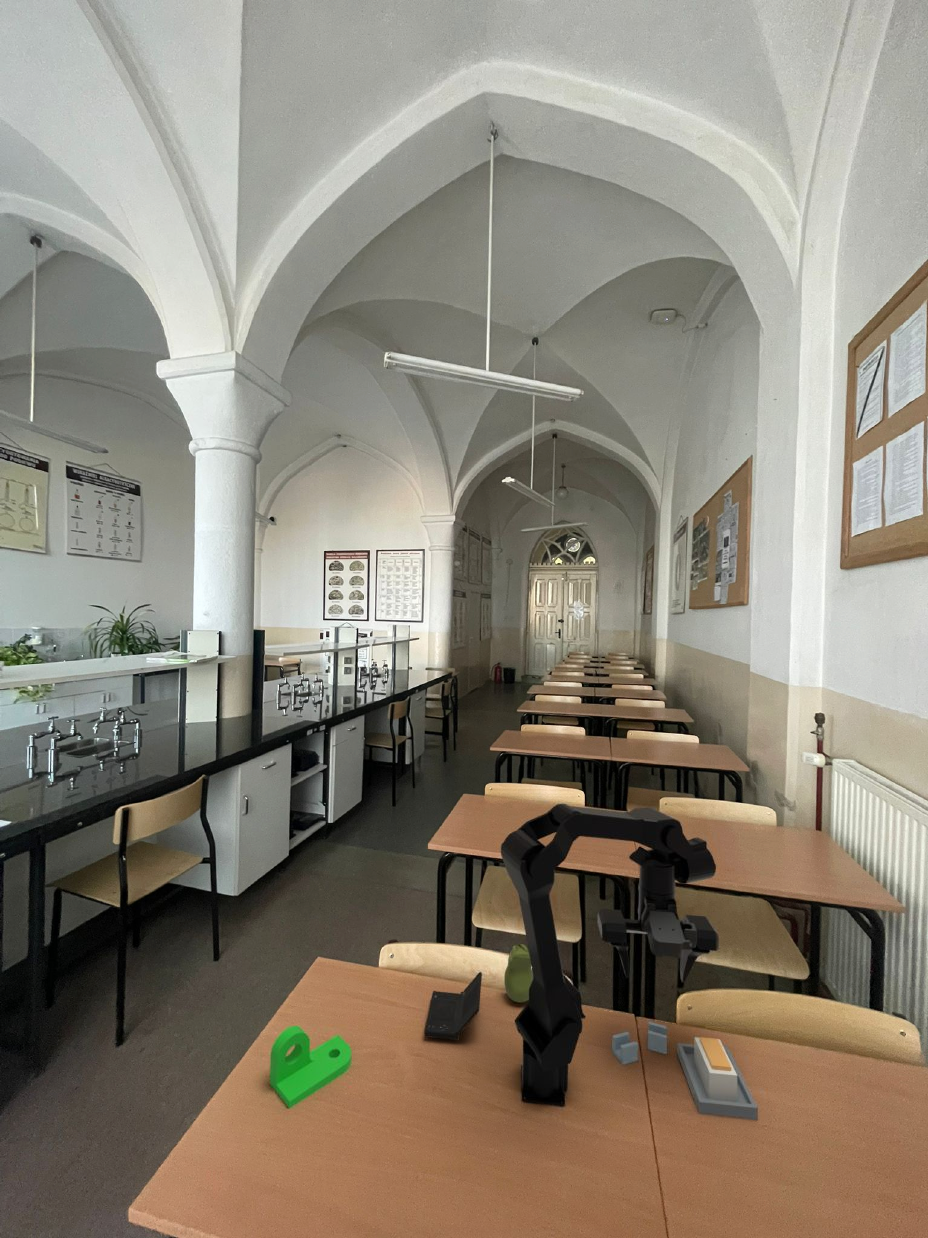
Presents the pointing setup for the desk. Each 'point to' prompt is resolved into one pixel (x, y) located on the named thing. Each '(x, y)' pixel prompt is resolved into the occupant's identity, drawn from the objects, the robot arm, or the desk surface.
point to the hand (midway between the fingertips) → (654, 979)
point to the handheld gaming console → (453, 1011)
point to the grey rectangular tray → (738, 1109)
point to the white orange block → (715, 1069)
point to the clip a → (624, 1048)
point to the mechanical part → (305, 1064)
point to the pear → (518, 974)
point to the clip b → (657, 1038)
